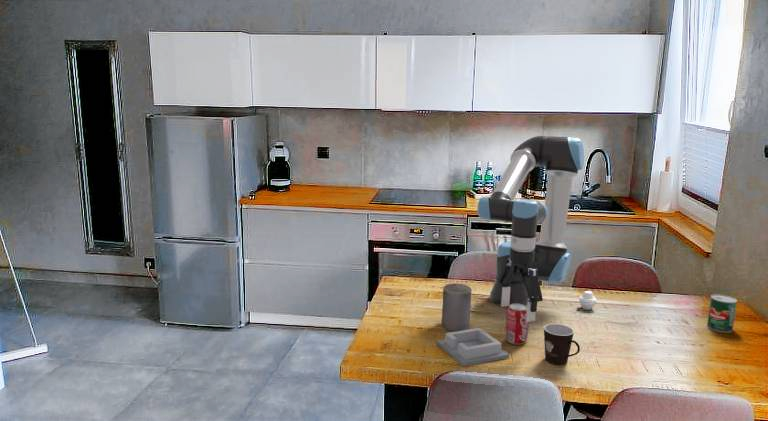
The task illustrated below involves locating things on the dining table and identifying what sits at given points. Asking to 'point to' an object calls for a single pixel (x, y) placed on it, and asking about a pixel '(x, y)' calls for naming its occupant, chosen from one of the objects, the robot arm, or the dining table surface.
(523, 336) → the soda can
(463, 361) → the pocket board
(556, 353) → the coffee mug
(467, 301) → the pillar candle
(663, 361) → the dining table surface
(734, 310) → the canned tomato
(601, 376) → the dining table surface
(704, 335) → the dining table surface
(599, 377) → the dining table surface
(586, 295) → the white lidded jar
